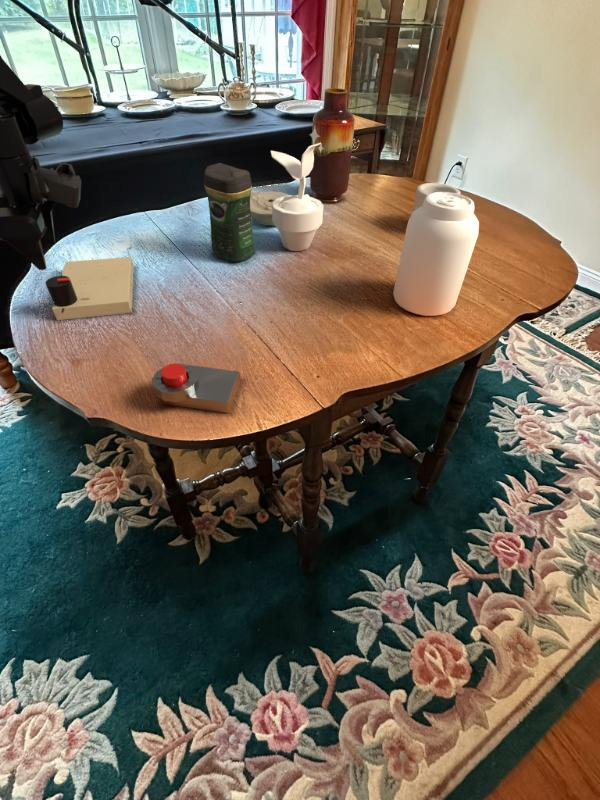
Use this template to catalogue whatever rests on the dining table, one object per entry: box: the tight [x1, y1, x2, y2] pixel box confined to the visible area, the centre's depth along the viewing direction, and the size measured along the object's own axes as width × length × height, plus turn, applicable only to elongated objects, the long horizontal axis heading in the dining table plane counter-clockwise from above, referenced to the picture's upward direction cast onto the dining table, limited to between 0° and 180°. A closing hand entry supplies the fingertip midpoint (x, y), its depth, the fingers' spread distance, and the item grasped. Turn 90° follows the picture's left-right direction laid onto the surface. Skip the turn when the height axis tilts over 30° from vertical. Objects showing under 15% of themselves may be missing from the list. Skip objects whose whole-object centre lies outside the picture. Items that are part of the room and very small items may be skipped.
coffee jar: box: [203, 162, 256, 263], centre depth 93 cm, size 10×8×19 cm
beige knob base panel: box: [40, 256, 135, 321], centre depth 84 cm, size 15×20×3 cm
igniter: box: [151, 363, 241, 414], centre depth 65 cm, size 11×8×4 cm
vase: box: [309, 87, 356, 204], centre depth 118 cm, size 11×11×26 cm
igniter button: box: [161, 363, 187, 388], centre depth 62 cm, size 3×3×2 cm
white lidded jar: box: [392, 192, 480, 317], centre depth 81 cm, size 12×12×20 cm
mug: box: [411, 182, 462, 214], centre depth 110 cm, size 14×11×10 cm
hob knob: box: [45, 275, 77, 307], centre depth 77 cm, size 4×4×4 cm
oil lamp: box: [250, 191, 291, 226], centre depth 113 cm, size 21×14×5 cm
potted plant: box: [270, 127, 324, 252], centre depth 95 cm, size 13×12×25 cm
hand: (47, 256), depth 73 cm, fingers open, 9 cm apart
